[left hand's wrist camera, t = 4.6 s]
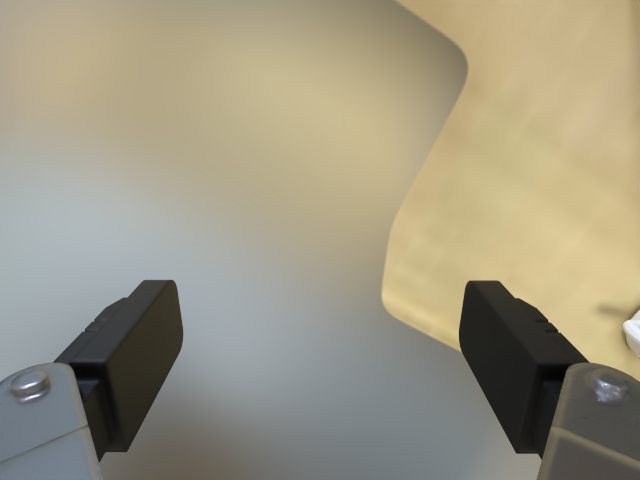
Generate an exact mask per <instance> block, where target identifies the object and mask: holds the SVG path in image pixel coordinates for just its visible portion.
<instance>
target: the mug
mask: <svg viewBox="0 0 640 480" xmlns="http://www.w3.org/2000/svg"><path fill="white" fill-rule="evenodd" d="M623 331H624V333H625V334H626V340H627V343H628V346H629V347H630V349H631V350H632V351H633V353H634V354H635V355H636V356H637V357H639V358H640V310H639V311H637V313H636V314H635V315H634V316H633V317H632V319H631V320H627V321H625V322H624V323H623Z"/></svg>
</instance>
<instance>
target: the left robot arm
mask: <svg viewBox="0 0 640 480" xmlns="http://www.w3.org/2000/svg"><path fill="white" fill-rule="evenodd" d="M182 342H183V326H182V319H181V312H180V305H179V298H178V291H177V286H176V284H175V282H174V281H173V280H144V281H143V282H141V284H140V285H139V286H138V287H137V288H136V289H135V290H134V291H133V292H132V293H131V295H130V296H129V297H128V298H122V299H120V300H119V301H117V302H115V303H113V304H111V305H110V306H108V307H106V308H105V309H104V310H103V311H102V312H101V313H100V314H99V315H98V316H97V317H96V318H95V321H94V322H92V323H91V324H90V325H89V326H88V327H87V328H86V329H85V332H82V333H81V334H80V335H79V336H78V337H77V338H76V339H75V340H74V341H73V342H72V343H71V344H70V345H69V346H68V347H67V348H66V349H65V350H64V351H63V353H61V355H60V356H59V357H58V358H57V359H56V360H55V361H54V362H53V363H44V364H39V365H35V366H32V367H28V368H26V369H23V370H21V371H18V372H16V373H14V374H12V375H10V376H9V377H7V378H5V379H4V380H2V381H1V382H0V480H103V477H102V473H101V469H100V466H99V462H100V460H101V459H102V457H103V455H104V454H105V452H127V451H128V449H129V447H130V445H131V443H132V441H133V439H134V438H135V436H136V434H137V432H138V430H139V428H140V426H141V424H142V422H143V421H144V419H145V417H146V415H147V413H148V411H149V409H150V407H151V405H152V404H153V402H154V400H155V398H156V396H157V394H158V392H159V390H160V388H161V387H162V385H163V383H164V381H165V379H166V377H167V375H168V373H169V371H170V370H171V368H172V366H173V364H174V362H175V360H176V358H177V356H178V354H179V352H180V350H181V347H182ZM459 342H460V347H461V350H462V353H463V355H464V357H465V359H466V361H467V362H468V364H469V366H470V368H471V370H472V372H473V374H474V375H475V377H476V379H477V381H478V383H479V385H480V387H481V388H482V390H483V392H484V394H485V396H486V398H487V400H488V402H489V403H490V405H491V407H492V409H493V411H494V413H495V415H496V417H497V418H498V420H499V422H500V424H501V426H502V428H503V430H504V431H505V433H506V435H507V437H508V439H509V441H510V443H511V444H512V446H513V448H514V450H515V452H516V453H517V454H539V456H540V458H541V459H542V462H541V466H540V469H539V473H538V477H537V480H640V382H639V381H638V380H636V379H635V378H633V377H631V376H630V375H628V374H626V373H624V372H622V371H619V370H617V369H614V368H612V367H609V366H605V365H601V364H596V363H590V362H589V361H588V360H587V359H586V358H585V357H584V356H583V355H582V354H581V353H580V352H579V351H578V350H577V349H576V348H575V347H574V346H573V345H572V344H571V343H570V342H569V341H568V340H567V339H566V338H565V337H564V336H563V335H562V334H561V333H558V330H557V329H556V328H555V327H554V326H553V325H552V324H551V323H549V322H548V319H547V318H546V317H545V316H544V315H543V314H542V313H541V312H540V311H539V310H538V309H537V308H535V307H533V306H532V305H530V304H528V303H526V302H525V301H523V300H521V299H519V298H514V297H513V296H512V295H511V293H510V292H509V291H508V290H507V289H506V288H505V287H504V286H503V285H502V284H501V283H500V282H499V281H469V282H468V283H467V285H466V288H465V293H464V300H463V307H462V314H461V321H460V327H459Z"/></svg>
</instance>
